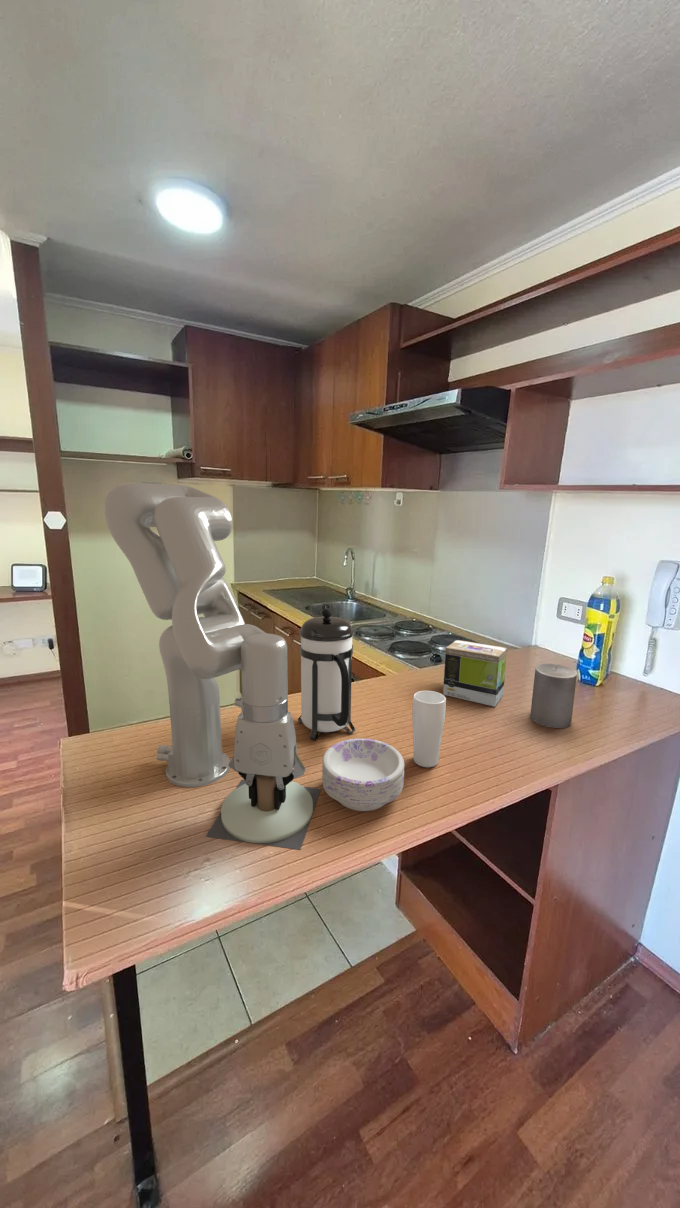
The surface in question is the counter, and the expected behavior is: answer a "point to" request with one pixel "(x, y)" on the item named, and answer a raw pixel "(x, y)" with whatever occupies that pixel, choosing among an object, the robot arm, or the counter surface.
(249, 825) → the lid
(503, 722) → the counter surface
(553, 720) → the pillar candle
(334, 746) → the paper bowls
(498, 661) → the tea box
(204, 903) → the counter surface
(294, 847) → the mat
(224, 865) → the counter surface
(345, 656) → the coffee press
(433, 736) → the drinking glass
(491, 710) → the counter surface
